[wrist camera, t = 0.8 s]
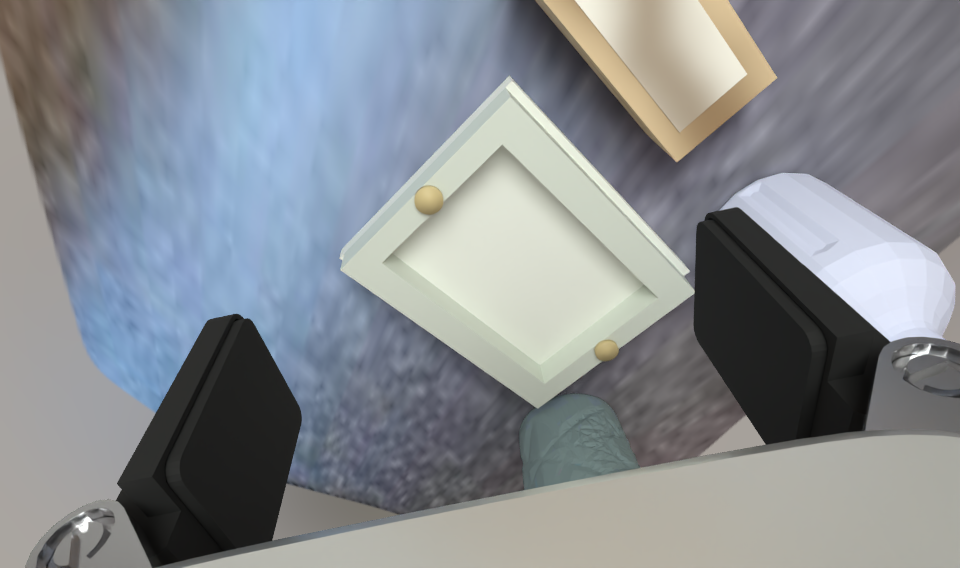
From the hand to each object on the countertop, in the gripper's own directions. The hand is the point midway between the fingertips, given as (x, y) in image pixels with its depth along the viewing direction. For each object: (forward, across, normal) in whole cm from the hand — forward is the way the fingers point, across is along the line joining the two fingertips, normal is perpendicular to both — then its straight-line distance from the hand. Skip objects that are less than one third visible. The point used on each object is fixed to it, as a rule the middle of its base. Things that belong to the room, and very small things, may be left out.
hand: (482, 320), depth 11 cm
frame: (+23, -10, -1) cm, 25 cm away
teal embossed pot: (+22, -4, +31) cm, 38 cm away
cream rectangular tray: (+22, -2, +12) cm, 26 cm away
